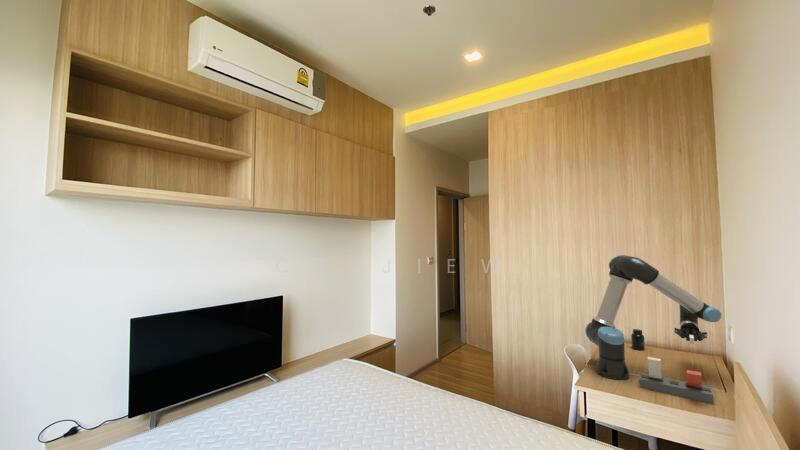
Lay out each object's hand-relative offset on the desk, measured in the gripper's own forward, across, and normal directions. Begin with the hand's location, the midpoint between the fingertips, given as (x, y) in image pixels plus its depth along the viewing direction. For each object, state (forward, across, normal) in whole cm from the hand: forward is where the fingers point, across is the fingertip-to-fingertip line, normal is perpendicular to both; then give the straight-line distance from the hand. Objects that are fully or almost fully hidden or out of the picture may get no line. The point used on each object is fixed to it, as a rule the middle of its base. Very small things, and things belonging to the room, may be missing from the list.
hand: (692, 341), depth 155 cm
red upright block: (+7, 0, -18) cm, 20 cm away
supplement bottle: (-49, +24, -23) cm, 60 cm away
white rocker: (+7, +14, -19) cm, 24 cm away
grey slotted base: (+7, +7, -23) cm, 25 cm away
